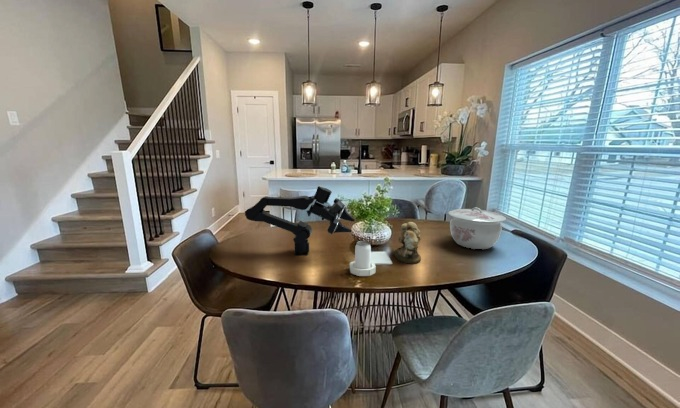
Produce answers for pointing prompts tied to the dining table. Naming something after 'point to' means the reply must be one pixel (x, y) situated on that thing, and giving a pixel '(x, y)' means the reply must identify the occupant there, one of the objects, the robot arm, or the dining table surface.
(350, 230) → the robot arm
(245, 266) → the dining table surface
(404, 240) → the owl figurine
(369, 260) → the can
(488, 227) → the chamber pot
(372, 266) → the ring
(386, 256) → the mat
